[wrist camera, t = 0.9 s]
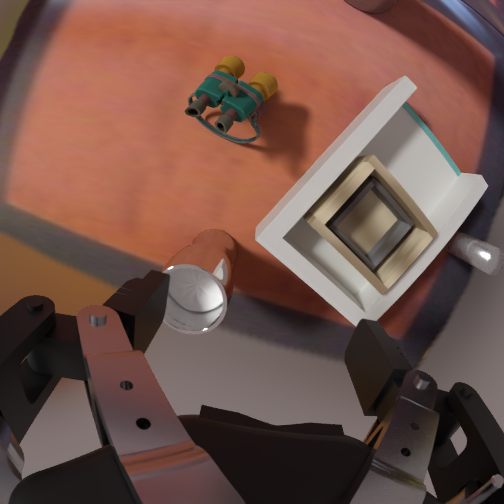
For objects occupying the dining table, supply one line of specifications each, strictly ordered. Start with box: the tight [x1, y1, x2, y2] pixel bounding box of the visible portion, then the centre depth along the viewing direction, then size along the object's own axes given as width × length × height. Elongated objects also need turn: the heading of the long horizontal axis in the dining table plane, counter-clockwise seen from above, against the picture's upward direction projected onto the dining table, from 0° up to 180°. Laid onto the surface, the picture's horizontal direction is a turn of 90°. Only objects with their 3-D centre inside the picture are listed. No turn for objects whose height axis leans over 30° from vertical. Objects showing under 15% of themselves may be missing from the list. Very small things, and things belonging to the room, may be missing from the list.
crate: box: [302, 155, 438, 295], centre depth 32 cm, size 10×12×6 cm
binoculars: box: [185, 56, 278, 143], centre depth 29 cm, size 9×9×10 cm
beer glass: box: [161, 229, 237, 334], centre depth 31 cm, size 7×7×15 cm
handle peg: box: [443, 231, 504, 276], centre depth 31 cm, size 3×3×12 cm
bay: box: [255, 75, 488, 326], centre depth 33 cm, size 26×18×6 cm
